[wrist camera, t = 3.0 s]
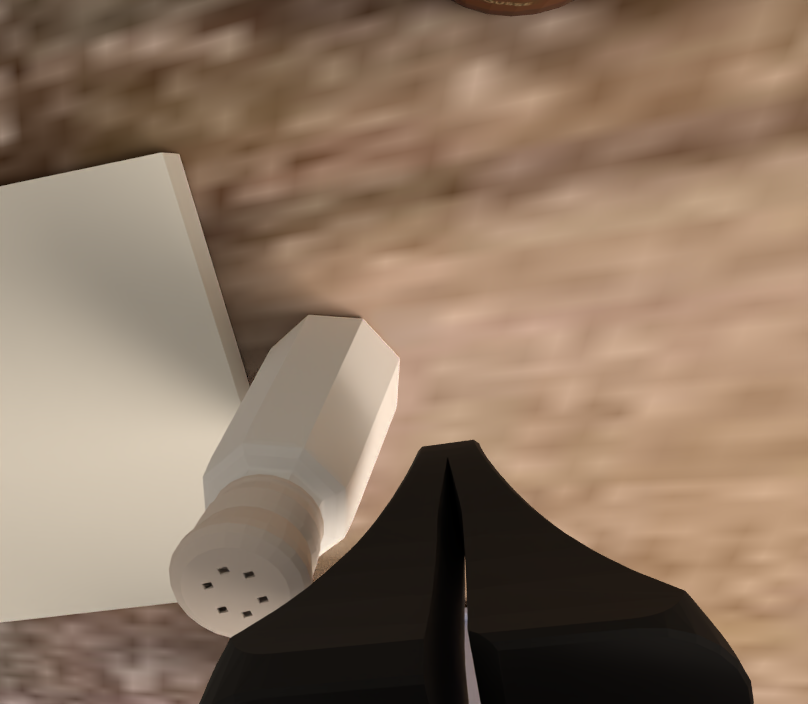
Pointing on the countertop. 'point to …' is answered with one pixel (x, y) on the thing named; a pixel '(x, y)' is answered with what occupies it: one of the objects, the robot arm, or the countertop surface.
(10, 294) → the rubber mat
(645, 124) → the countertop surface
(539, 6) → the food container
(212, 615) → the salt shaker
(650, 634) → the robot arm
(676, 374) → the countertop surface
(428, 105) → the countertop surface
